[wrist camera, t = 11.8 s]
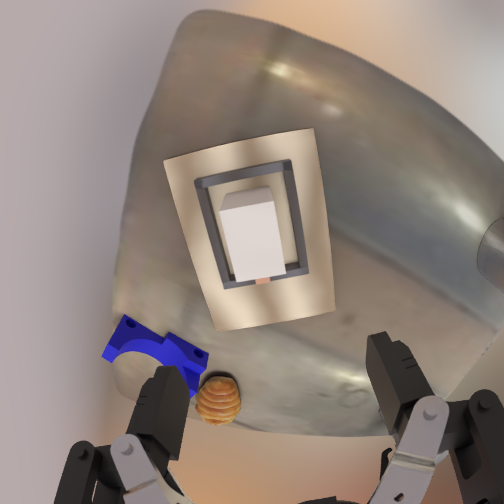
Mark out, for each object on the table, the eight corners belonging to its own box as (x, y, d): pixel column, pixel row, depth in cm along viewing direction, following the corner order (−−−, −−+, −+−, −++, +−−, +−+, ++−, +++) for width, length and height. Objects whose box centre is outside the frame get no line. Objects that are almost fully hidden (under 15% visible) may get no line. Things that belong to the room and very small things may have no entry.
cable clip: (208, 352, 36) (203, 386, 30) (192, 369, 37) (185, 402, 32) (129, 306, 33) (111, 336, 27) (117, 326, 34) (101, 356, 29)
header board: (310, 128, 24) (316, 128, 22) (333, 305, 32) (338, 318, 30) (166, 159, 25) (158, 162, 23) (218, 326, 33) (216, 340, 31)
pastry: (198, 368, 36) (193, 389, 33) (246, 375, 37) (245, 396, 33) (197, 405, 40) (193, 423, 37) (238, 411, 40) (237, 430, 37)
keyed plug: (268, 185, 26) (273, 200, 20) (281, 254, 28) (287, 285, 23) (226, 193, 26) (218, 211, 20) (241, 261, 29) (239, 293, 23)
